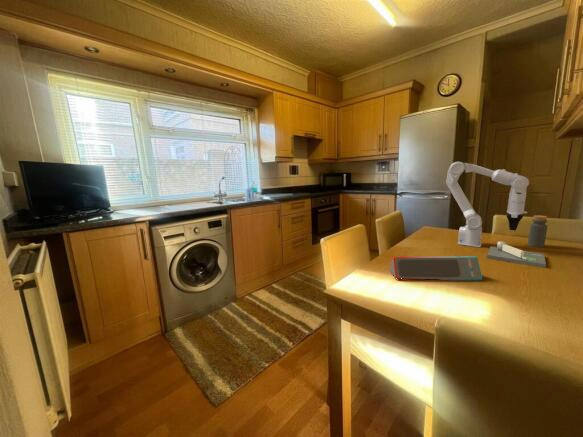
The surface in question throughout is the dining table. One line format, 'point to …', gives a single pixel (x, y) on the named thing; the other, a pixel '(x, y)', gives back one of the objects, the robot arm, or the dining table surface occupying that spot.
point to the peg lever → (510, 249)
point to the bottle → (538, 231)
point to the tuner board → (532, 257)
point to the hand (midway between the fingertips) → (512, 230)
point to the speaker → (436, 268)
